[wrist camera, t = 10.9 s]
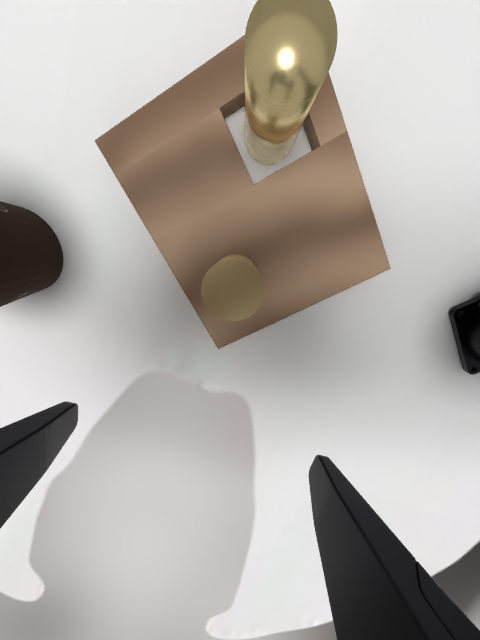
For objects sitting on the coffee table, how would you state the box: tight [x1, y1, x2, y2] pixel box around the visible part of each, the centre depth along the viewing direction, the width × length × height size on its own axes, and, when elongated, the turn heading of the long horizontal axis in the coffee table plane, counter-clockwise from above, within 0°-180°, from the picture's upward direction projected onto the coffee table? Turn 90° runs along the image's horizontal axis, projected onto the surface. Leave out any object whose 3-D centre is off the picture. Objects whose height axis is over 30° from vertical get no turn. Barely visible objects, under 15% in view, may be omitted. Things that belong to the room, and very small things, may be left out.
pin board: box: [95, 35, 391, 349], centre depth 14 cm, size 16×14×7 cm
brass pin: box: [245, 0, 337, 165], centre depth 12 cm, size 3×3×8 cm
